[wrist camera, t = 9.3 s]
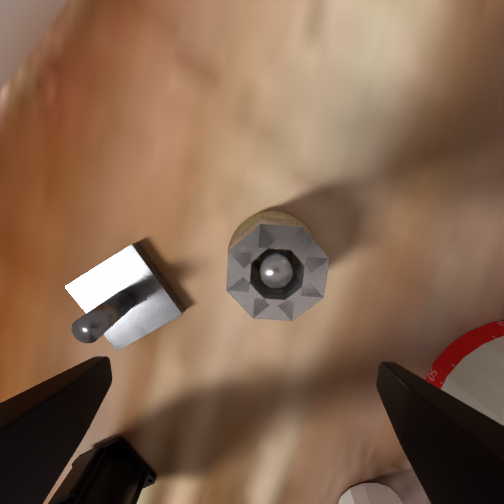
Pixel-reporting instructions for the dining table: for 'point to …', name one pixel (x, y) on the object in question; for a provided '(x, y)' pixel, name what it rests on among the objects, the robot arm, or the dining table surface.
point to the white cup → (369, 495)
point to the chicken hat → (474, 370)
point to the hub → (272, 253)
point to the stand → (123, 299)
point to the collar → (303, 265)
